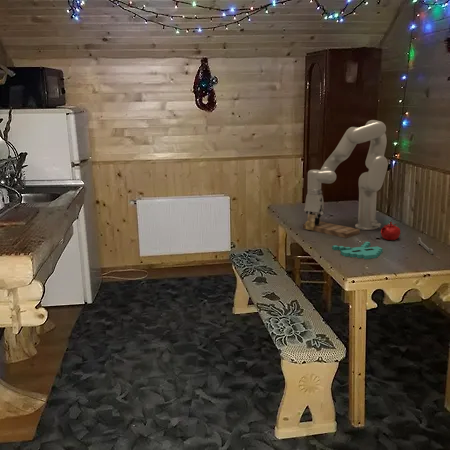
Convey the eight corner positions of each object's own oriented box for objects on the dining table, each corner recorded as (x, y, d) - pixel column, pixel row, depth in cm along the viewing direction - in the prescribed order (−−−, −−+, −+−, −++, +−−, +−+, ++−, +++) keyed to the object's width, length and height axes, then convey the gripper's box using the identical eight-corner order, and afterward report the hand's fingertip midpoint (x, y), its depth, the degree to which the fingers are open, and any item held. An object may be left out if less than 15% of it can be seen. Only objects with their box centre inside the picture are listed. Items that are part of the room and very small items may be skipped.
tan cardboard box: (320, 228, 298) (320, 214, 296) (312, 230, 293) (312, 216, 291) (313, 226, 301) (313, 212, 299) (305, 228, 297) (305, 214, 295)
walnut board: (359, 233, 286) (359, 229, 286) (346, 238, 279) (346, 233, 278) (316, 224, 308) (316, 220, 308) (302, 228, 301) (302, 224, 300)
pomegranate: (402, 238, 277) (403, 221, 275) (396, 242, 269) (398, 224, 267) (383, 235, 282) (385, 218, 280) (377, 239, 274) (378, 222, 272)
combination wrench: (433, 248, 247) (419, 236, 266) (430, 248, 247) (417, 236, 266) (433, 256, 248) (419, 243, 267) (430, 256, 248) (416, 243, 267)
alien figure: (332, 250, 261) (351, 261, 242) (332, 245, 260) (352, 257, 242) (368, 245, 266) (390, 257, 247) (368, 241, 265) (390, 252, 247)
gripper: (330, 192, 289) (329, 225, 293) (307, 189, 301) (306, 220, 306) (322, 194, 284) (321, 227, 289) (298, 191, 296) (298, 222, 301)
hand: (313, 223), depth 297 cm, fingers closed on tan cardboard box, 4 cm apart
